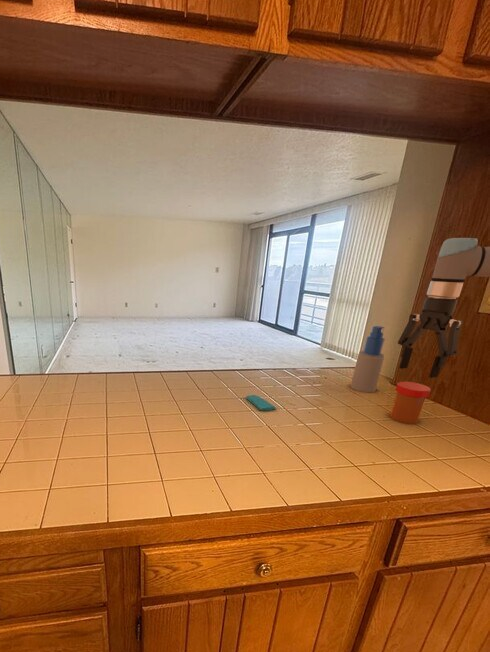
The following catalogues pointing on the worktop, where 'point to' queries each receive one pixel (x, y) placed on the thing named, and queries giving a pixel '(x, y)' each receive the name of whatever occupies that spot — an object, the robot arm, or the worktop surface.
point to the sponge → (260, 402)
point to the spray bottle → (369, 362)
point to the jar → (406, 408)
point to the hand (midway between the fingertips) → (417, 372)
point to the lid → (413, 389)
